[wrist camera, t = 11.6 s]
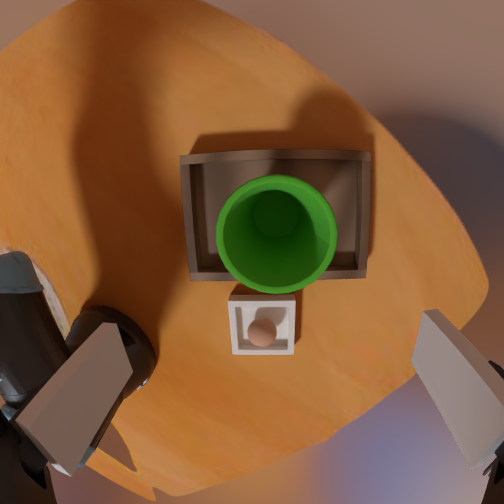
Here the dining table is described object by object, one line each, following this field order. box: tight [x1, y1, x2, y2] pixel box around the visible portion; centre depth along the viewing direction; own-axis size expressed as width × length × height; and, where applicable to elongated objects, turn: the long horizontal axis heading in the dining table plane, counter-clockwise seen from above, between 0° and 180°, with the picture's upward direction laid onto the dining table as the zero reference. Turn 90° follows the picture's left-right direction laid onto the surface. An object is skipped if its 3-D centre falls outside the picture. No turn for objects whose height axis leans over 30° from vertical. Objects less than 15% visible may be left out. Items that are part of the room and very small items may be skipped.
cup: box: [216, 174, 338, 294], centre depth 25 cm, size 9×9×11 cm
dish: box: [228, 294, 296, 355], centre depth 35 cm, size 8×8×2 cm
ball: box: [247, 318, 277, 347], centre depth 33 cm, size 4×4×4 cm
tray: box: [180, 149, 371, 281], centre depth 30 cm, size 20×14×3 cm
